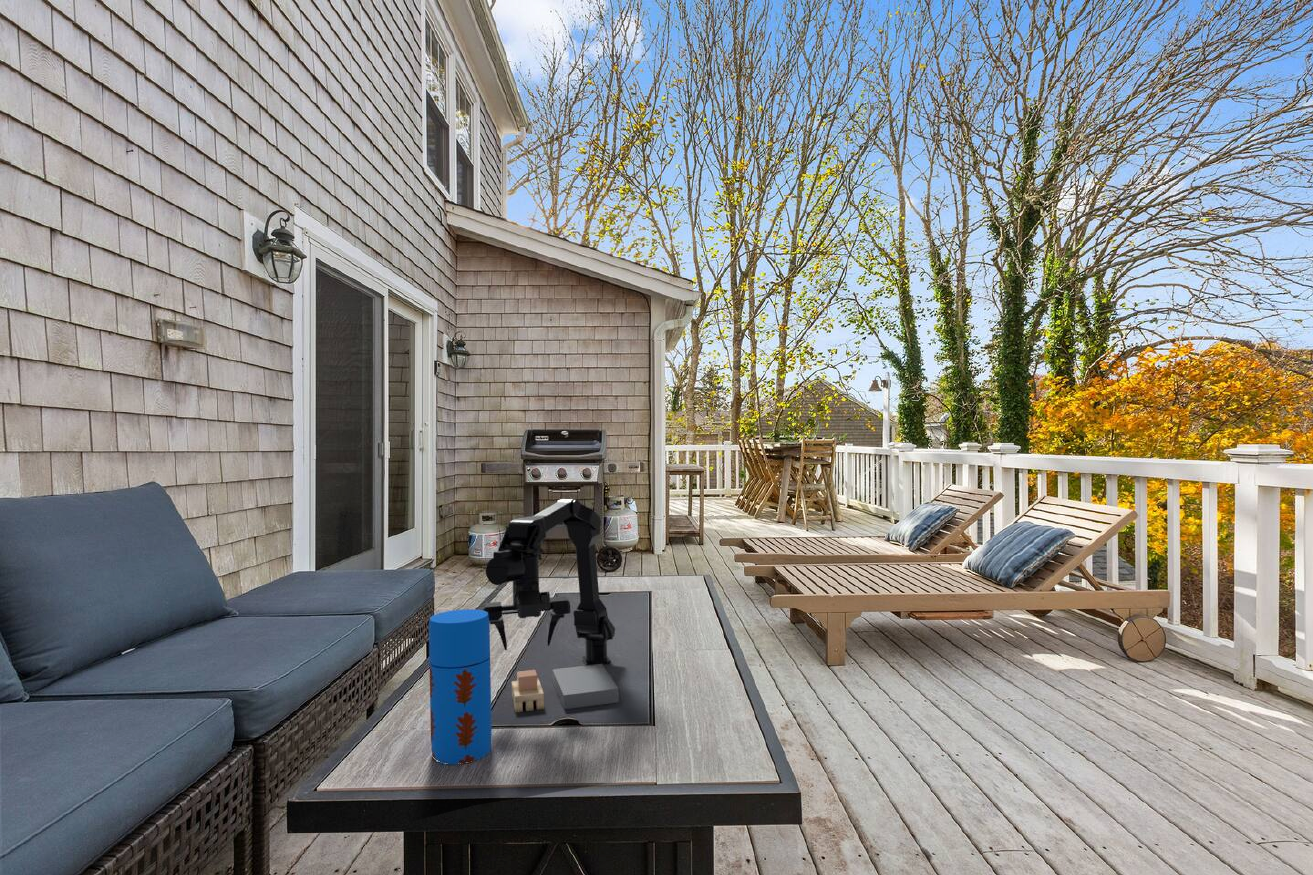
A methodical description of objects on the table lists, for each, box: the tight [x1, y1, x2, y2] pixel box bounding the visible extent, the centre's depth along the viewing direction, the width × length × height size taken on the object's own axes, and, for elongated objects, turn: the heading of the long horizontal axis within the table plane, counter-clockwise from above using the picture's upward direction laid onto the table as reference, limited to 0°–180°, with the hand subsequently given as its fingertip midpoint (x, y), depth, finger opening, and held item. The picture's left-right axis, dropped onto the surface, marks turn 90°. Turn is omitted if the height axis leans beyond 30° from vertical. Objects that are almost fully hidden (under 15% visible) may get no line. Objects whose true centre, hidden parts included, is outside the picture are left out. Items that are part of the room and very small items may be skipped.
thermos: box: [428, 608, 492, 765], centre depth 125 cm, size 11×11×25 cm
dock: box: [552, 664, 620, 710], centre depth 155 cm, size 18×12×3 cm, turn 16°
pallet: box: [511, 677, 545, 713], centre depth 149 cm, size 10×6×4 cm, turn 16°
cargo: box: [516, 669, 538, 691], centre depth 149 cm, size 4×4×3 cm
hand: (527, 647), depth 149 cm, fingers open, 9 cm apart
